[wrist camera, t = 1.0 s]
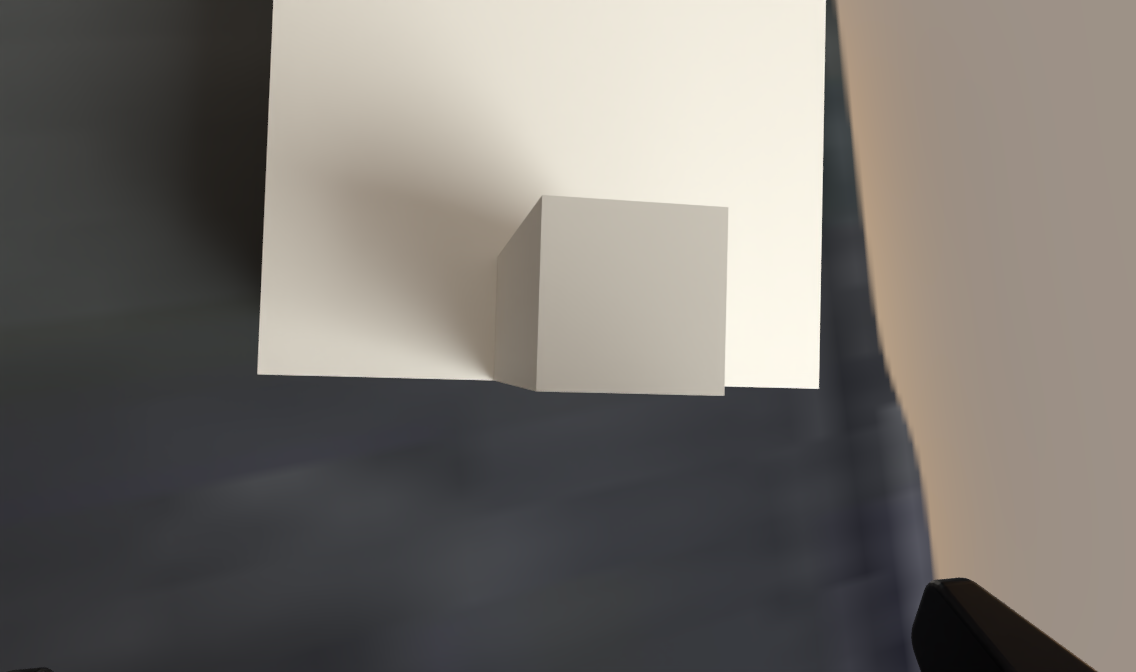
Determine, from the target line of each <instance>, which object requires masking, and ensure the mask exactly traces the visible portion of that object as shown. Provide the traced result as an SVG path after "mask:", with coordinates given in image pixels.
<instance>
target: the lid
mask: <svg viewBox="0 0 1136 672" xmlns="http://www.w3.org/2000/svg"><path fill="white" fill-rule="evenodd" d="M825 15H826V0H273V21H272V45H271V68H270V91H269V115H268V138H267V162H266V185H265V208H264V232H263V255H262V279H261V302H260V325H259V349H258V372H257V374H266V375H305V376H344V377H383V378H422V379H461V380H494V381H498V382H502V383H506V384H510V385H514V386H518V387H521V388H525V389H529V390H533V391H546V392H588V393H631V394H673V395H716V396H724V386H734V387H773V388H812V389H819V348H820V293H821V237H822V182H823V126H824V71H825Z"/></svg>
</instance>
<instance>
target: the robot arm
mask: <svg viewBox="0 0 1136 672" xmlns="http://www.w3.org/2000/svg"><path fill="white" fill-rule="evenodd" d="M911 638H912V645H913V650H914V653H915V656H916V659H917V662H918V665H919V667H920V670H921V672H1097V671H1096V670H1095V669H1093V668H1092V667H1091V666H1089V665H1088V664H1087V663H1085V662H1084V661H1082V660H1081V659H1080V658H1078V657H1077V656H1076V655H1074V654H1073V653H1072V652H1070V651H1069V650H1067V649H1066V648H1065V647H1063V646H1062V645H1060V644H1059V643H1058V642H1056V641H1055V640H1054V639H1052V638H1051V637H1050V636H1048V635H1047V634H1045V633H1044V632H1043V631H1041V630H1040V629H1039V628H1037V627H1036V626H1034V625H1033V624H1032V623H1030V622H1029V621H1027V620H1026V619H1024V618H1023V617H1022V616H1021V615H1019V614H1018V613H1017V612H1015V611H1014V610H1013V609H1011V608H1010V607H1008V606H1007V605H1006V604H1004V603H1003V602H1002V601H1000V600H999V599H997V598H996V597H995V596H993V595H992V594H991V593H989V592H988V591H986V590H985V589H984V588H982V587H981V586H980V585H978V584H977V583H975V582H974V581H971V580H969V579H967V578H951V579H940V580H933V581H931V582H930V583H929V584H928V585H927V586H926V588H925V590H924V593H923V596H922V599H921V602H920V605H919V608H918V611H917V614H916V617H915V620H914V623H913V627H912V635H911ZM8 672H54V671H52V670H50V669H48V668H45V667H41V668H30V669H20V670H12V671H8Z"/></svg>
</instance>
